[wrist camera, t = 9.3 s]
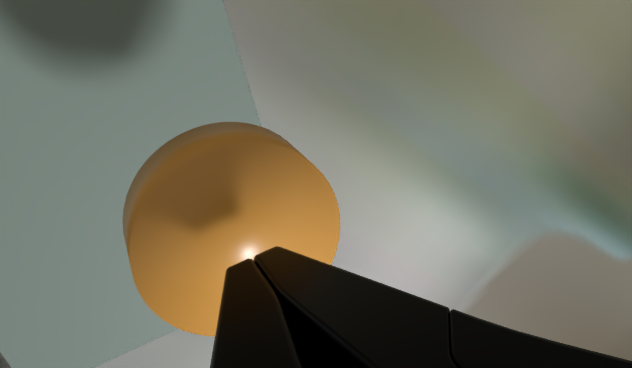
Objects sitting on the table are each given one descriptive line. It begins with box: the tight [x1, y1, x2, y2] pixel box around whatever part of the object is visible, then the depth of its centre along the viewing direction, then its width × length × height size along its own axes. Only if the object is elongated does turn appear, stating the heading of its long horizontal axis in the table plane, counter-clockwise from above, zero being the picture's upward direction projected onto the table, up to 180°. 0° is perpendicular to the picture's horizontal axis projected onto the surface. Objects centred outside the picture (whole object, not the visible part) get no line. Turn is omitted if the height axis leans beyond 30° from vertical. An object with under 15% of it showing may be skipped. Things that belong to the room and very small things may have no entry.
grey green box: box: [0, 0, 261, 368], centre depth 15 cm, size 10×8×5 cm
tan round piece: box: [122, 122, 340, 336], centre depth 10 cm, size 4×4×2 cm
